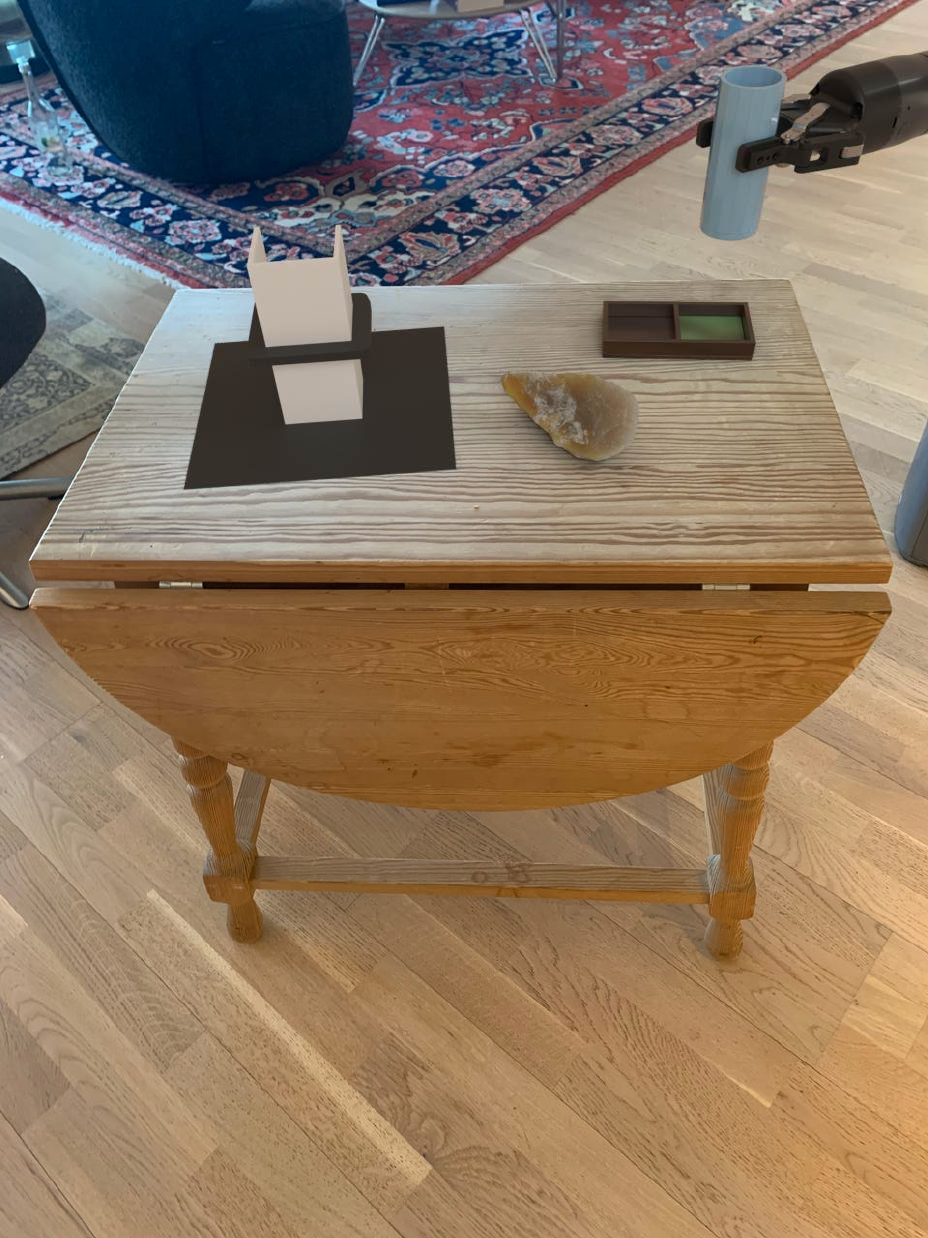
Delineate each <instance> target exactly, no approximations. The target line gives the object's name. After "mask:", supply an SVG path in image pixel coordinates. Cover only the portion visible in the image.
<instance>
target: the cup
mask: <svg viewBox="0 0 928 1238" xmlns="http://www.w3.org/2000/svg"><path fill="white" fill-rule="evenodd" d="M718 80H719V81H718V87H717V95H716V102H715V110H714V116H713V117H714V123H713V130H712V137H711V144H710V147H709V150H708V151H709V153H708V158H707V166H706V173H705V181H704V188H703V194H702V203H701V208H700V209H701V211H700V217H699V229H700V231H701V232H702V233H703V235H705V236H707V237H710V238H713V239H716V240H720V241H729V242H731V241H742V240H746V239H749V238H752V237H753V236H754V235H756V233H758V231H759V226H760V223H761V217H762V213H763V208H764V202H765V198H766V197H765V196H766V191H767V186H768V181H769V175H770V171H771V166H768V167H765V168H761V169H757V170H753V171H750V172H746V173H741V172H739V171H738V170H736V169H735V164H736V158H737V152H738V149H739V147H740V146H741V145H742V144H745V143H749V142H752V141H756V140H760V139H764V138H768V137H771V136H776V134H777V129H778V123H779V118H780V113H781V108H782V102H783V98H785V91H786V87H787V81H788V77H787V75H786V73H785V72H784V71H782V70H781V69H778V68H775V67H771V66H767V65H759V64H758V65H757V64H748V65H737V66H733V67H730V68H727V69H725V70H724V71H722V72H721V74H720V76H719V79H718Z"/></svg>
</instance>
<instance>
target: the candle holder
mask: <svg viewBox="0 0 928 1238" xmlns="http://www.w3.org/2000/svg"><path fill="white" fill-rule="evenodd" d="M334 229H335V230H334V243H333V244H334V245H333V247H334V248H333V256H332V257H319V258H318V257H317V258H304V259H291V260H290V259H289V260H278V261H276V260H275V261H268V260H267V254H266V249H265V246H264V241H263V240H264V239H263V235H262V232H261V227H260V226H254V227H253V233H252V237H251V243H250V248H249V254H248V259H247V264H246V268H247V273H248V277H249V281H250V285H251V290H252V294H253V299H254V304H253V310H252V316H251V323H250V329H249V333H248V339H247V340H239V341H238V340H237V341H228V342H226V341H225V342H215V343H214V346H213V350H212V355H211V360H210V364H209V369H208V373H207V378H206V382H205V387H204V391H203V396H202V397H203V398H202V402H201V406H200V410H199V416H198V420H197V425H196V430H195V434H194V438H193V442H192V448H191V452H190V458H189V462H188V465H187V471H186V475H185V480H184V484H183V490H193V489H194V490H195V489H207V488H219V487H220V488H221V487H222V488H223V487H235V486H249V485H261V484H274V483H288V482H303V481H315V480H317V481H318V480H329V479H341V478H342V479H344V478H355V477H356V478H357V477H368V476H381V475H382V476H383V475H397V474H409V473H422V472H423V473H424V472H435V471H437V472H438V471H449V470H457V460H456V448H455V439H454V438H455V437H454V427H453V414H452V401H451V392H450V380H449V367H448V356H447V355H448V354H447V345H446V333H445V325H444V326H443V325H442V326H430V327H429V326H427V327H416V328H415V327H413V328H401V329H387V330H375V331H372V330H373V329H372V328H373V326H372V325H373V323H372V322H373V309H372V302H371V299H370V298H369V296H368V294H367V293H366V292H365V293H364V292H351V291H352V290H351V284H350V278H349V271H348V263H347V257H346V250H345V244H344V238H343V237H344V236H343V229H342V225H341V224H336V225H335V228H334Z"/></svg>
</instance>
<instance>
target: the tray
mask: <svg viewBox="0 0 928 1238" xmlns="http://www.w3.org/2000/svg"><path fill="white" fill-rule="evenodd" d="M601 320H602V321H601V326H602V327H601V331H602V332H601V333H602V334H601V335H602V337H601V338H602V339H601V340H602V342H601V344H602V345H601V349H602V352H601V353H602V355H601V357H602V358H604V359H605V358H607V359H662V360H663V359H664V360H665V359H668V360H669V359H671V360H731V361H753V358H754V353H755V349H756V344H757V342H756V341H757V340H756V337H755V331H754V326H753V322H752V315H751V310H750V306H749V301H687V300H686V301H681V300H680V301H678V300H677V301H675V300H603V304H602V319H601Z"/></svg>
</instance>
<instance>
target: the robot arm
mask: <svg viewBox="0 0 928 1238" xmlns="http://www.w3.org/2000/svg"><path fill="white" fill-rule="evenodd" d="M713 123H714V116H712V117H708V118H704V119H701V120H700V121H699V122H698V124H697V127H696V135H695V145H696V146H698V147H699V148H701V149H706V148H710V144H711V137H712V130H713ZM925 135H928V50H927V49H926V50H923V51H920V52H916V53H911V54H898V55H891V56H886V57H883V58H878V59H875V60H870V61H867V62H866V61H865V62H863V63H858V64H854V65H850V66H846V67H842V68H838V69H834V70H831V71H829V72H827V73H825V75H823V76H822V77H821V78H820V79H819V80H818V81H817V83H816V84H815V85H814V86H813V87H812V89H811V90H810V91H809V92H808V93H806V92H805V93H804V92H803V93H793V94H791V95H789V96H787V97H783V102H782V108H781V113H780V118H779V123H778V129H777V134H776V136H771V137H768V138H764V139H760V140H756V141H752V142H749V143H745V144H742V145H741V146H740V147H739V149H738V152H737V158H736V164H735V169H736V170H738V171H739V172H741V173H746V172H750V171H753V170H757V169H761V168H765V167H768V166H770V167H771V166H775V167H776V168H780V169H786V168H788V167H790V166H794V167H793V172H794V173H795V174H799V175H800V174H801V175H804V174H810V173H816V172H821V171H822V172H823V171H828V170H834V169H840V168H841V169H842V168H846V167H852V166H858V165H859V163H860V160H861V156H864V155H868V154H871V153H875V152H879V151H882V150H886V149H890V148H893V147H896V146H899V145H901V144H904V143H907V142H908V141H911V140H913V139H915V138H918V137H923V136H925ZM817 155H818V156H819V157H818V158H817V159H812V156H813V157H815V156H817ZM811 159H812V160H811Z"/></svg>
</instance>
